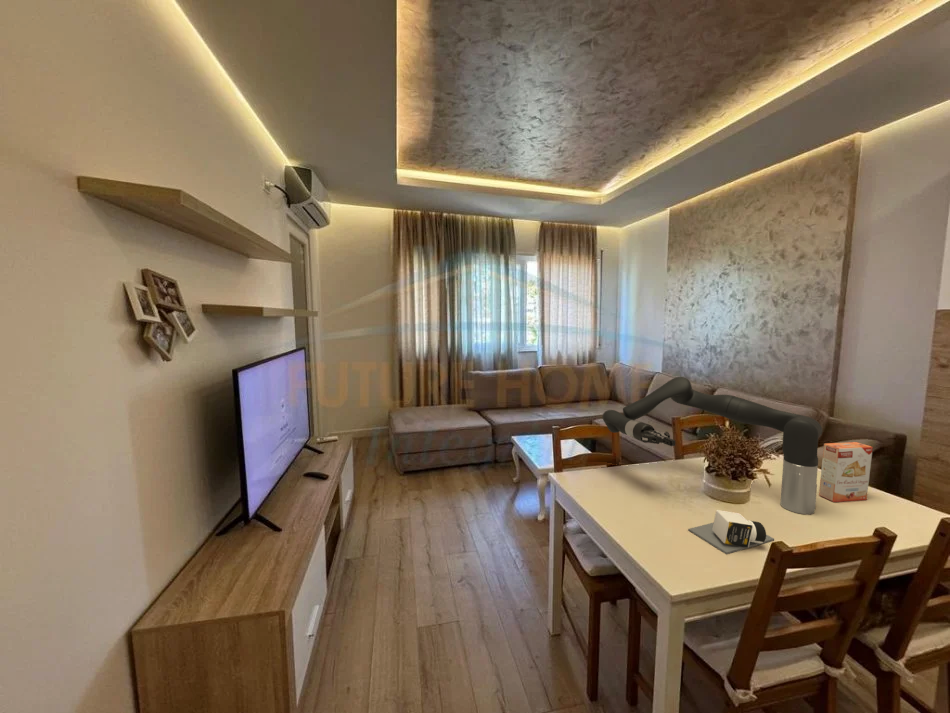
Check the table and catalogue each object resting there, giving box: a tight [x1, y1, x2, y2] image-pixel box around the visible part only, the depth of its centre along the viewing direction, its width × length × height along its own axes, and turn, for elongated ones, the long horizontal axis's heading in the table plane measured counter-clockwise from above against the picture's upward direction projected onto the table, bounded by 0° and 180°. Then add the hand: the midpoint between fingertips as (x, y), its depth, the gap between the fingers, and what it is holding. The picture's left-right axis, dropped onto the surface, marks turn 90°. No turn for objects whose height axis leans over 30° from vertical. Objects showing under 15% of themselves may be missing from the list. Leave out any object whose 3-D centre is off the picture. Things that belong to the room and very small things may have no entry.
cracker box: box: [818, 441, 874, 503], centre depth 138 cm, size 14×6×21 cm, turn 95°
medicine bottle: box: [712, 509, 767, 547], centre depth 113 cm, size 7×7×12 cm
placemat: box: [688, 521, 775, 555], centre depth 117 cm, size 20×13×1 cm, turn 108°
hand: (673, 443), depth 136 cm, fingers closed
